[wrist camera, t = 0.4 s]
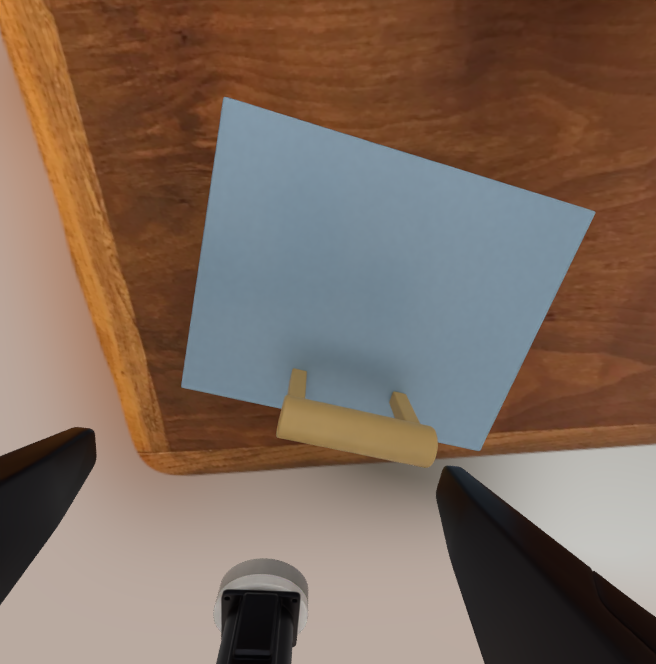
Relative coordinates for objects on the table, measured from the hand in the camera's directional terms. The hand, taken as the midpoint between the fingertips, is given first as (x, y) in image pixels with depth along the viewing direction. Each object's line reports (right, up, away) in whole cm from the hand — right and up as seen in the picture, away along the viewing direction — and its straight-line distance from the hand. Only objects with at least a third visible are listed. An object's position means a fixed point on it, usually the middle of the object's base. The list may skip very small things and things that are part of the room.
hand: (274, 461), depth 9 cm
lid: (+3, +5, +7) cm, 9 cm away
